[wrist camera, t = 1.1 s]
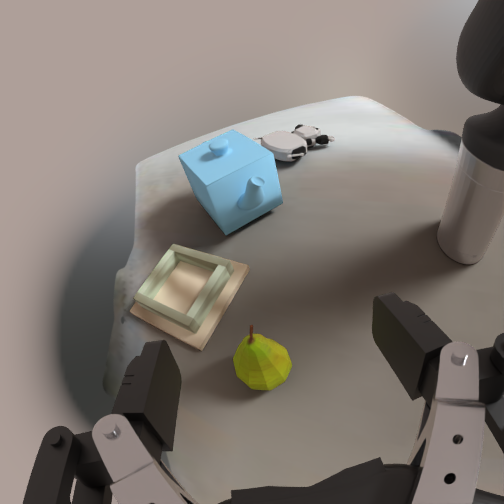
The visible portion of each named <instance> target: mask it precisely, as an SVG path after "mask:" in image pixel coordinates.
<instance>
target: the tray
mask: <svg viewBox="0 0 504 504" xmlns="http://www.w3.org/2000/svg"><path fill="white" fill-rule="evenodd" d="M249 270H250V268H249V265H246V264H242V263H239V262H235V261H232V260H228V259H225V258H221V257H218V256H214V255H211V254H207V253H204V252H200V251H197V250H194V249H190V248H187V247H183V246H180V245H175V244H172V246H171V247H170V248H169V250H168V251H167V252H166V254H165V255H164V256H163V258H162V259H161V260H160V262H159V263H158V264H157V266H156V267H155V268H154V270H153V271H152V272H151V274H150V275H149V277H148V278H147V279H146V281H145V282H144V284H143V285H142V286H141V288H140V289H139V291H138V292H137V293H136V295H135V296H134V298H133V299H134V300H135V301H136V303H135V304H134V306H133V307H132V308H131V310H130V312H131V313H132V314H133V315H135V316H137V317H138V318H140V319H142V320H144V321H145V322H147V323H149V324H151V325H153V326H154V327H156V328H158V329H160V330H162V331H164V332H166V333H167V334H169V335H171V336H173V337H175V338H177V339H179V340H181V341H183V342H185V343H187V344H189V345H191V346H193V347H195V348H197V349H199V350H201V351H202V350H203V349H204V347H205V345H206V344H207V342H208V340H209V339H210V337H211V335H212V333H213V332H214V330H215V328H216V327H217V325H218V323H219V322H220V320H221V318H222V316H223V315H224V313H225V311H226V310H227V308H228V306H229V304H230V303H231V301H232V299H233V298H234V296H235V294H236V292H237V291H238V289H239V287H240V286H241V284H242V282H243V280H244V279H245V277H246V275H247V274H248V272H249Z"/></svg>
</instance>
